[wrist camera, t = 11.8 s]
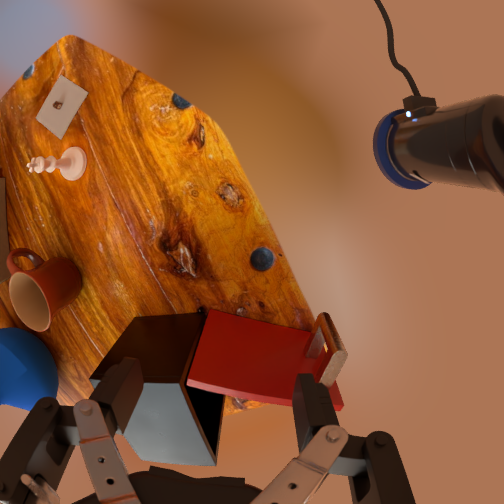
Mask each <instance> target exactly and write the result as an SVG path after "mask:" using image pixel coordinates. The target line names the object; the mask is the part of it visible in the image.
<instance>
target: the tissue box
mask: <svg viewBox="0 0 504 504" xmlns="http://www.w3.org/2000/svg"><path fill="white" fill-rule="evenodd" d="M9 253H10V250H9V242H8V232H7V220H6V200H5V177H4V178H0V283H2V282H4V281H6V280H7V279H9V278H11V276H12V275H11V273H10V271H9V269H8V267H7V263H6V260H7V256H8V254H9Z"/></svg>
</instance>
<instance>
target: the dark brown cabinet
mask: <svg viewBox="0 0 504 504" xmlns="http://www.w3.org/2000/svg"><path fill="white" fill-rule="evenodd" d="M205 322H206V318H205V313H204V312H197V313H185V314H173V315H160V316H145V317H135V318H134V319H133V320H132V322H131V323H130V324H129V325H128V327H127V328H126V329H125V331H124V332H123V333H122V335H121V336H120V337H119V339H118V340H117V341H116V343H115V344H114V345H113V347H112V348H111V349H110V351H109V352H108V353H107V355H106V356H105V357H104V359H103V360H102V361H101V363H100V364H99V366H98V367H97V368H96V370H95V371H94V373H93V374H92V375H91V377H90V378H89V380H90V382H91V383H92V385H93V387H94V389H95V388H96V386H97V385H98V383H99V382H100V380H101V379H102V377H104V374H105V373H106V371H107V370H108V368H110V367H111V366H113V365H114V364H118V365H119V364H120V362H121V361H122V359H123V358H124V357H130V358H136V359H139V361H140V365H141V371H142V376H143V381H144V387H143V391H142V394H141V396H140V398H139V400H138V402H137V405H136V407H135V409H134V411H133V413H132V416H131V418H130V420H129V422H128V425H127V427H126V429H125V432H124V434H123V435H124V437H125V438H126V440H127V441H128V443H129V444H130V445H131V447H132V448H133V450H134V451H135V452H136V453H137V455H138V456H139V457H140V459H141V460H147V461H154V462H162V463H172V464H183V465H200V466H201V465H202V466H216V464H217V456H218V449H219V440H220V433H221V425H222V418H223V410H224V403H225V395H223V394H219V393H215V392H211V391H206V390H202V389H199V388H195V387H191V386H187V385H186V384H187V379H188V375H189V372H190V369H191V366H192V363H193V360H194V356H195V353H196V350H197V347H198V344H199V341H200V338H201V335H202V332H203V328H204V325H205Z"/></svg>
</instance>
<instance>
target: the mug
mask: <svg viewBox="0 0 504 504" xmlns="http://www.w3.org/2000/svg"><path fill="white" fill-rule="evenodd" d="M19 256H24V257H27V258H29V259H30V260H31V261H32V262H33V264H34V266H35V268H34V269H31V270H25V271H23V270H22V269H20V268H19V267H17V266H16V265H15V263H14V262H13V258H15V257H19ZM6 263H7V267H8V269H9V271H10V273H11V275H12V276H11V278H10V281H9V295H10V299H11V302H12V305H13V307H14V310H15V312H16V313H17V315H18V316H19V318H20V319H21V320H22V322H23V323H24V324H25V325H27V326H28V327H29V328H31V329H32V330H34V331H38V332H43V331H45V330H47V329H48V328H49V326H50V324H51V322H52V320H53V318H54V317H55V315H56V314H57V313H58V312H60V311H61V310H63V309H64V308H65V307H67V306H68V305H69V304H71V303H72V302H73V301H74V300H75V299H76V298H77V296H78V295H79V293H80V291H81V287H82V281H81V276H80V273H79V271H78V269H77V267H76V266H75V265H74V264H73V262H71V261H70V260H69V259H67V258H64V257H54V258H51V259H49V260H48V261H44V260H43V259H42V258H41V257H40V256H39V255H37V254H36V253H35V252H33V251H32V250H30V249H27V248H17V249H14V250H12V251H11V252H10V253H9V254H8V256H7V260H6Z"/></svg>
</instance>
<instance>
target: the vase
mask: <svg viewBox="0 0 504 504" xmlns="http://www.w3.org/2000/svg"><path fill="white" fill-rule="evenodd" d="M58 385H59V383H58V373H57V368H56V364H55V362H54V359H53V357H52V355H51V353H50V351H49V350H48V348H47V347H46V346H45V345H44V343H43V342H42V341H41V340H40V339H39V338H37V337H36V336H34V335H33V334H31V333H30V332H28V331H26V330H23V329H19V328H13V327H10V328H2V329H0V405H1V404H7V405H10V406H14V407H18V408H22V409H25V410H28V411H31V410H32V408H33V407H34V405H35V404H36V402H37V401H38V400H39V399H41V398H43V397H53V398H55V399H56V397H57V391H58Z"/></svg>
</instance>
